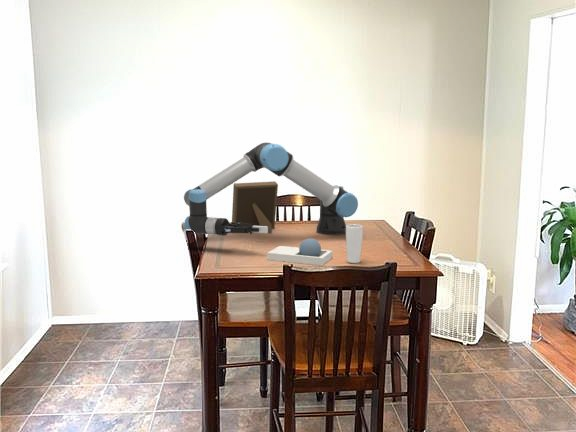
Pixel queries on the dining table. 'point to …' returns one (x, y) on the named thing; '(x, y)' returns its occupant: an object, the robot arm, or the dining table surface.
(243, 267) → the dining table surface
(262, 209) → the photo frame
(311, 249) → the ball
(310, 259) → the white tray
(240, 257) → the dining table surface
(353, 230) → the drinking glass
